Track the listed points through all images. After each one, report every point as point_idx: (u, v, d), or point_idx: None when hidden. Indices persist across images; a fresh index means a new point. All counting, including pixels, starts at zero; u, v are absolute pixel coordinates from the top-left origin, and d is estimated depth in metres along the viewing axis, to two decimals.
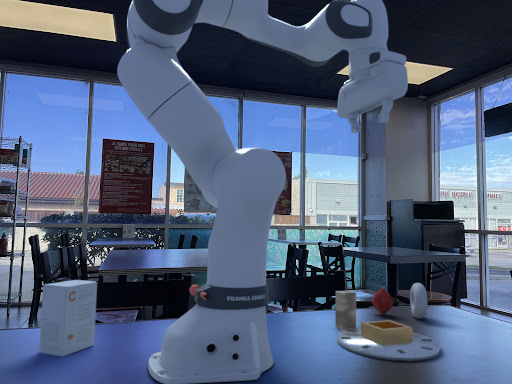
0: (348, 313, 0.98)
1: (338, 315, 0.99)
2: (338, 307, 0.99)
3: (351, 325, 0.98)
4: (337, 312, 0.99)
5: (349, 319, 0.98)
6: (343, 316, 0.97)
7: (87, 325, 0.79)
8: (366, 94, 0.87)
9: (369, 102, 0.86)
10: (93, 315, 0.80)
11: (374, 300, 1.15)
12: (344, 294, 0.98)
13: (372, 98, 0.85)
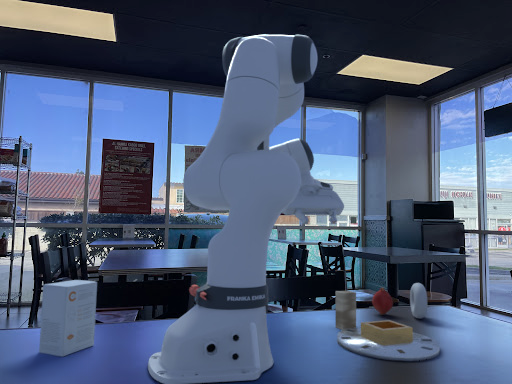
0: (348, 313, 0.98)
1: (338, 315, 0.99)
2: (338, 307, 0.99)
3: (351, 325, 0.98)
4: (337, 312, 0.99)
5: (349, 319, 0.98)
6: (343, 316, 0.97)
7: (87, 325, 0.79)
8: (318, 202, 1.18)
9: (323, 207, 1.17)
10: (93, 315, 0.80)
11: (374, 300, 1.15)
12: (344, 294, 0.98)
13: (326, 205, 1.18)
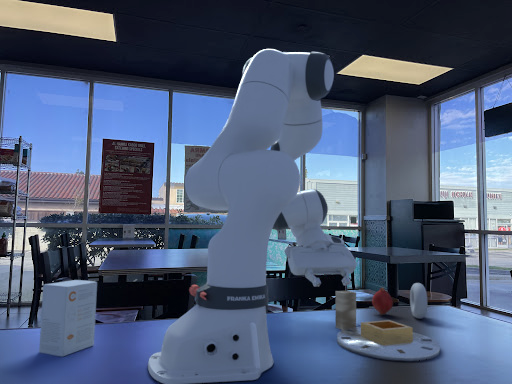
0: (348, 313, 0.98)
1: (338, 315, 0.99)
2: (338, 307, 0.99)
3: (351, 325, 0.98)
4: (337, 312, 0.99)
5: (349, 319, 0.98)
6: (343, 316, 0.97)
7: (87, 325, 0.79)
8: (329, 260, 1.10)
9: (335, 266, 1.09)
10: (93, 315, 0.80)
11: (374, 300, 1.15)
12: (344, 294, 0.98)
13: (338, 264, 1.09)
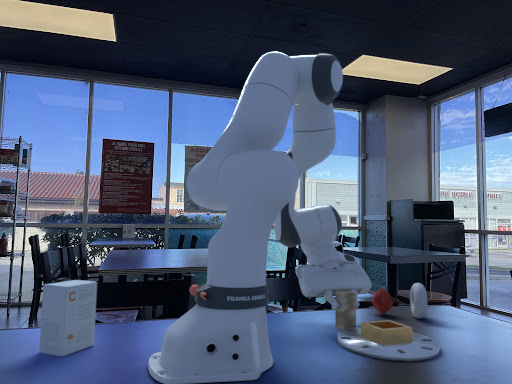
0: (348, 313, 0.98)
1: (338, 315, 0.99)
2: None
3: (351, 325, 0.98)
4: (337, 312, 0.99)
5: (349, 319, 0.98)
6: (343, 316, 0.97)
7: (87, 325, 0.79)
8: (343, 280, 1.03)
9: (349, 287, 1.02)
10: (93, 315, 0.80)
11: (373, 300, 1.15)
12: (344, 294, 0.98)
13: (352, 285, 1.03)
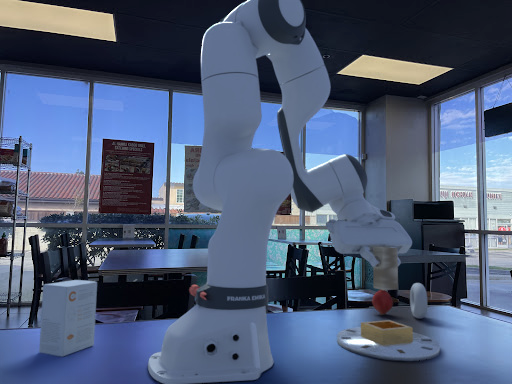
0: (389, 271, 0.85)
1: (377, 274, 0.86)
2: None
3: (393, 285, 0.85)
4: (375, 270, 0.87)
5: (390, 278, 0.85)
6: (384, 274, 0.85)
7: (87, 325, 0.79)
8: (380, 236, 0.91)
9: (387, 243, 0.90)
10: (93, 315, 0.80)
11: (373, 300, 1.15)
12: (384, 249, 0.85)
13: (391, 241, 0.90)
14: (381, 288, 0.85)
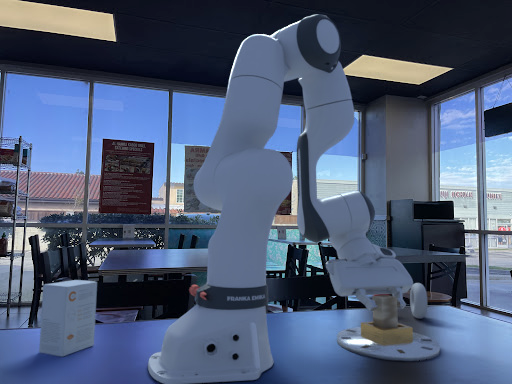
0: (389, 321, 0.84)
1: (377, 324, 0.85)
2: (376, 315, 0.85)
3: None
4: (375, 320, 0.86)
5: None
6: (384, 325, 0.83)
7: (87, 325, 0.79)
8: (381, 277, 0.90)
9: (388, 284, 0.89)
10: (93, 315, 0.80)
11: None
12: (383, 299, 0.84)
13: (391, 282, 0.89)
14: None
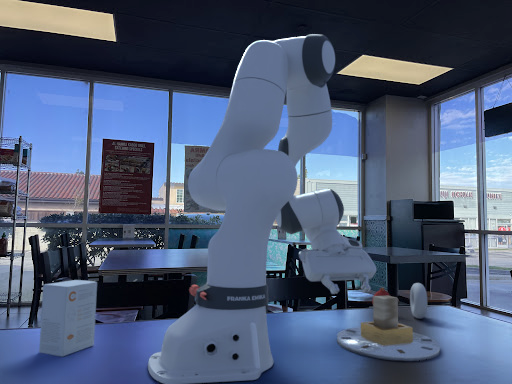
0: (389, 321, 0.84)
1: (377, 324, 0.85)
2: (377, 315, 0.85)
3: None
4: (376, 320, 0.85)
5: None
6: (384, 325, 0.83)
7: (87, 325, 0.79)
8: (347, 265, 1.02)
9: (353, 271, 1.01)
10: (93, 315, 0.80)
11: None
12: (384, 300, 0.84)
13: (356, 269, 1.02)
14: None
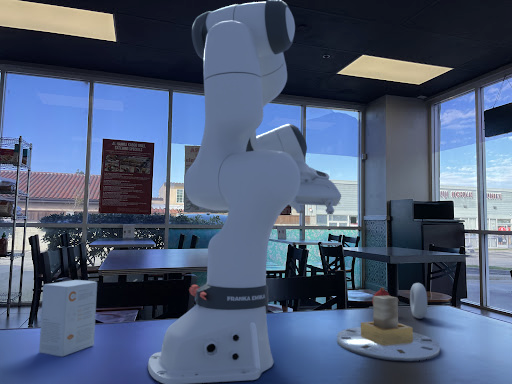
0: (389, 321, 0.84)
1: (377, 324, 0.85)
2: (377, 315, 0.85)
3: None
4: (376, 320, 0.85)
5: None
6: (384, 325, 0.83)
7: (87, 325, 0.79)
8: (313, 190, 1.10)
9: (319, 196, 1.09)
10: (93, 315, 0.80)
11: None
12: (384, 300, 0.84)
13: (322, 194, 1.10)
14: None
